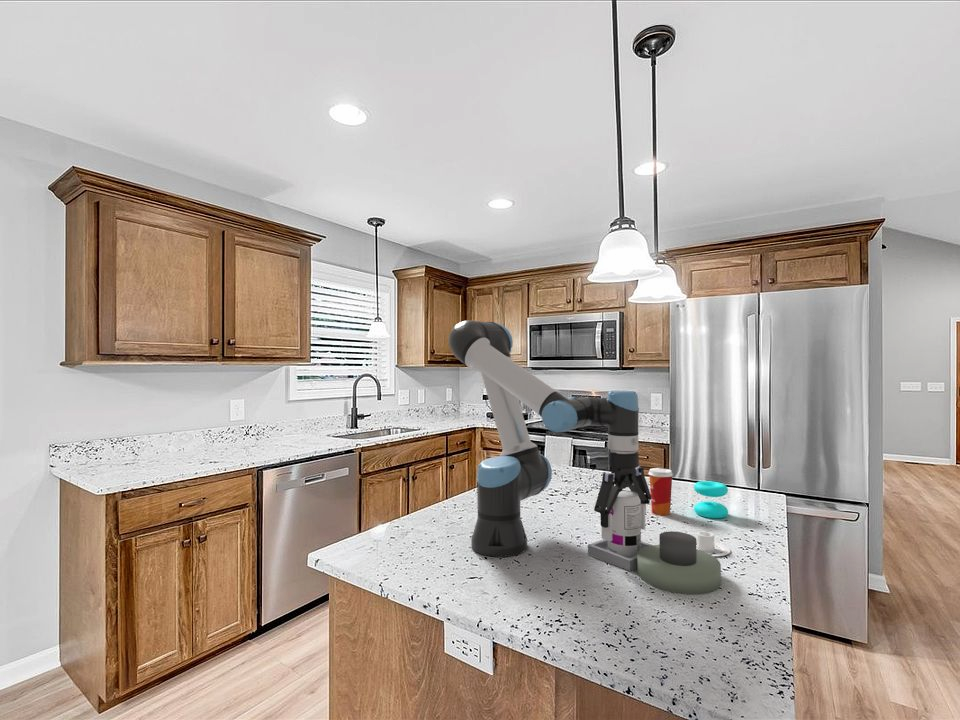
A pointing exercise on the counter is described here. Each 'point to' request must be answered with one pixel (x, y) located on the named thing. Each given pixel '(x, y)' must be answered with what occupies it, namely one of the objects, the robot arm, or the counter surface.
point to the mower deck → (668, 563)
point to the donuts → (709, 507)
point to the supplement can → (626, 524)
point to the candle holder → (709, 543)
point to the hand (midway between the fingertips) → (624, 533)
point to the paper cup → (660, 490)
